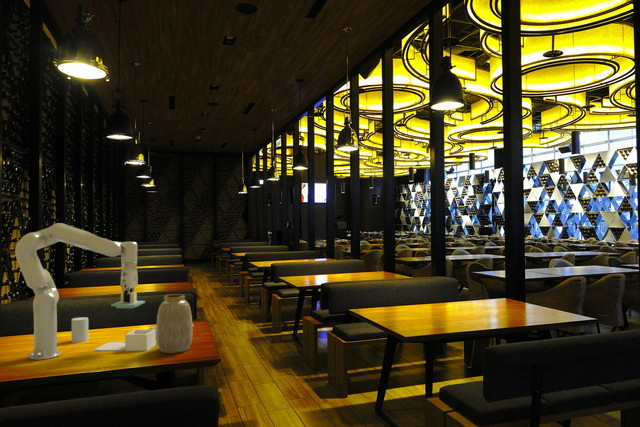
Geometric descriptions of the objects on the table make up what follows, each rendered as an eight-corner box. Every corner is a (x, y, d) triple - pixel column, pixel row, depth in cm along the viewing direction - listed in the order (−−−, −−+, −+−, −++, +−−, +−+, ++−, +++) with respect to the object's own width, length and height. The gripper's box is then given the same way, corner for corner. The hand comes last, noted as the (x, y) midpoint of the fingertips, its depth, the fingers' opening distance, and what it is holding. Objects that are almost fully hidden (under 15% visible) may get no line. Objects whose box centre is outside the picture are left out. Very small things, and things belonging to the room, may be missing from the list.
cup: (91, 339, 256) (91, 317, 256) (82, 342, 247) (82, 320, 248) (77, 338, 256) (77, 317, 257) (68, 342, 248) (68, 320, 249)
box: (146, 350, 230) (146, 334, 230) (125, 350, 230) (125, 334, 230) (155, 344, 241) (155, 329, 241) (134, 345, 241) (134, 329, 241)
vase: (199, 346, 237) (198, 293, 238) (180, 355, 220) (180, 298, 221) (169, 344, 242) (169, 292, 242) (149, 353, 225) (148, 297, 226)
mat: (123, 350, 230) (123, 349, 230) (93, 350, 231) (93, 349, 231) (136, 343, 245) (136, 342, 245) (108, 343, 246) (108, 342, 246)
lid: (134, 309, 231) (134, 294, 231) (111, 308, 231) (111, 294, 232) (144, 305, 243) (145, 291, 243) (122, 304, 243) (122, 291, 244)
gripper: (128, 267, 229) (128, 304, 229) (143, 264, 246) (142, 299, 245) (114, 266, 230) (113, 304, 229) (129, 264, 246) (128, 299, 246)
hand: (128, 301), depth 237 cm, fingers closed on lid, 3 cm apart
